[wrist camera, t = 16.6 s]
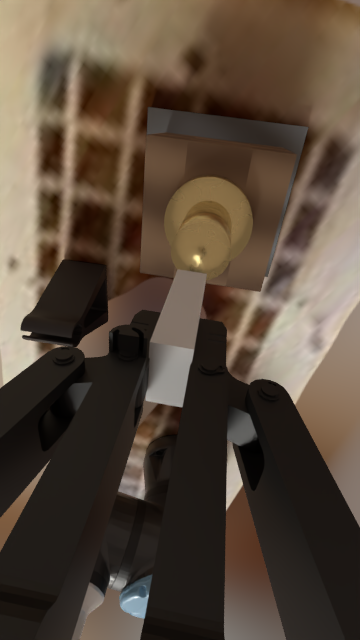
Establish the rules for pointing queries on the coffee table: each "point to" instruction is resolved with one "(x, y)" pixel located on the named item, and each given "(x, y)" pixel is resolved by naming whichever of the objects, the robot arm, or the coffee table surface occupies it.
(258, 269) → the walnut block
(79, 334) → the phone stand
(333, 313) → the coffee table surface
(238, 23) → the coffee table surface
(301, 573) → the robot arm
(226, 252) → the brass pin
